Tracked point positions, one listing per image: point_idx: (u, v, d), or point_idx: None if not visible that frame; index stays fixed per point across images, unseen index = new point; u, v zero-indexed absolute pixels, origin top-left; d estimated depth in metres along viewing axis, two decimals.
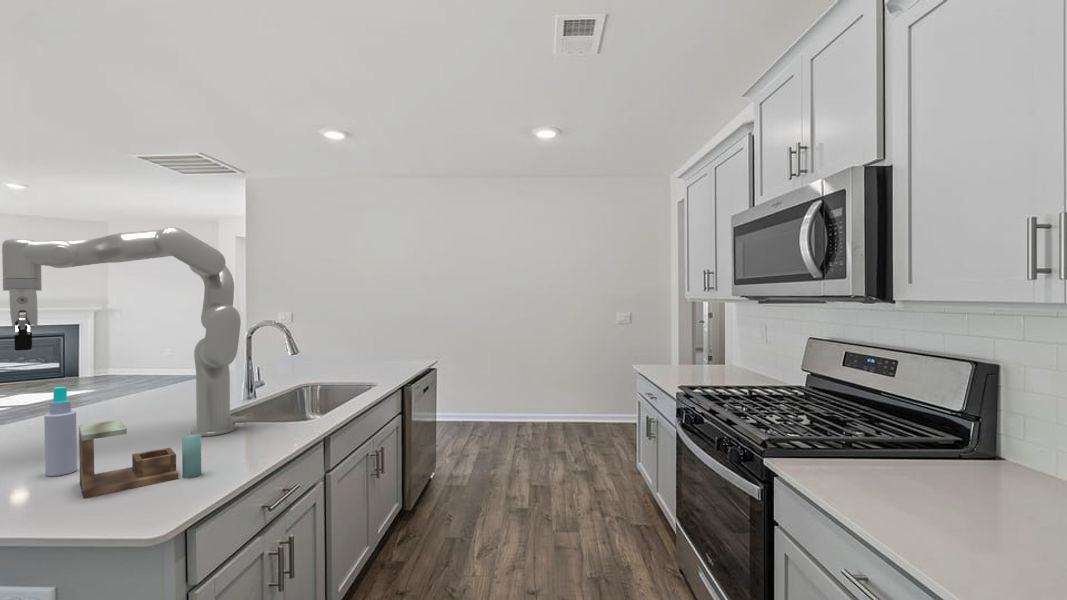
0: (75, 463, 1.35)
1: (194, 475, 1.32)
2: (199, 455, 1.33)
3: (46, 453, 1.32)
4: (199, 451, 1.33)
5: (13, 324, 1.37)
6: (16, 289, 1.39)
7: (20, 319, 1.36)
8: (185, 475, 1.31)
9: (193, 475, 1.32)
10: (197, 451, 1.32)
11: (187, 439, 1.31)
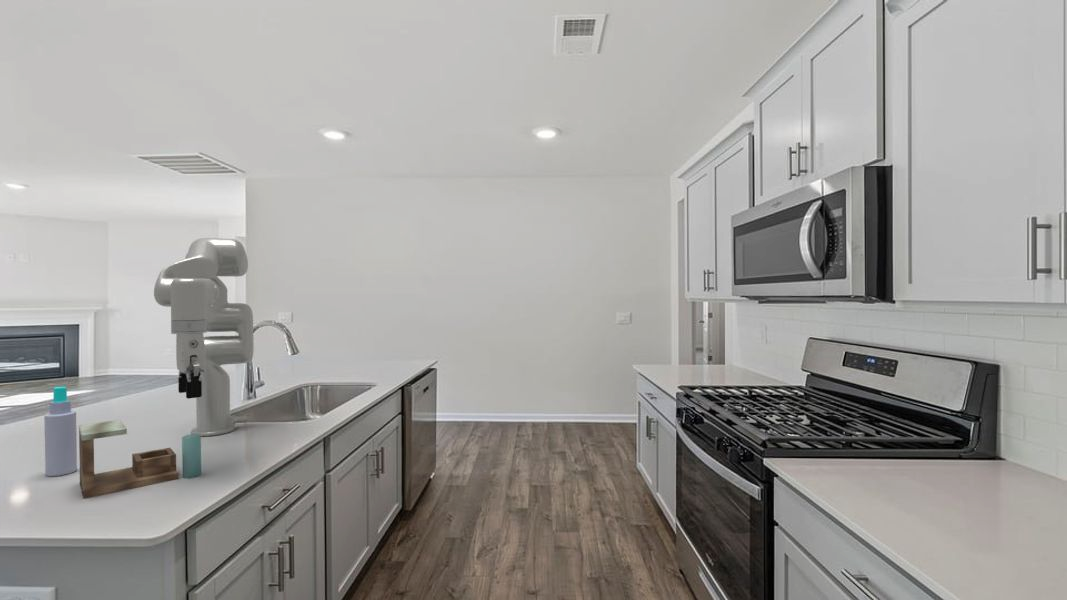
0: (75, 463, 1.35)
1: (194, 475, 1.32)
2: (199, 455, 1.33)
3: (46, 453, 1.32)
4: (199, 451, 1.33)
5: (185, 370, 1.28)
6: (186, 332, 1.29)
7: (195, 365, 1.26)
8: (185, 475, 1.31)
9: (193, 475, 1.32)
10: (197, 451, 1.32)
11: (187, 439, 1.31)
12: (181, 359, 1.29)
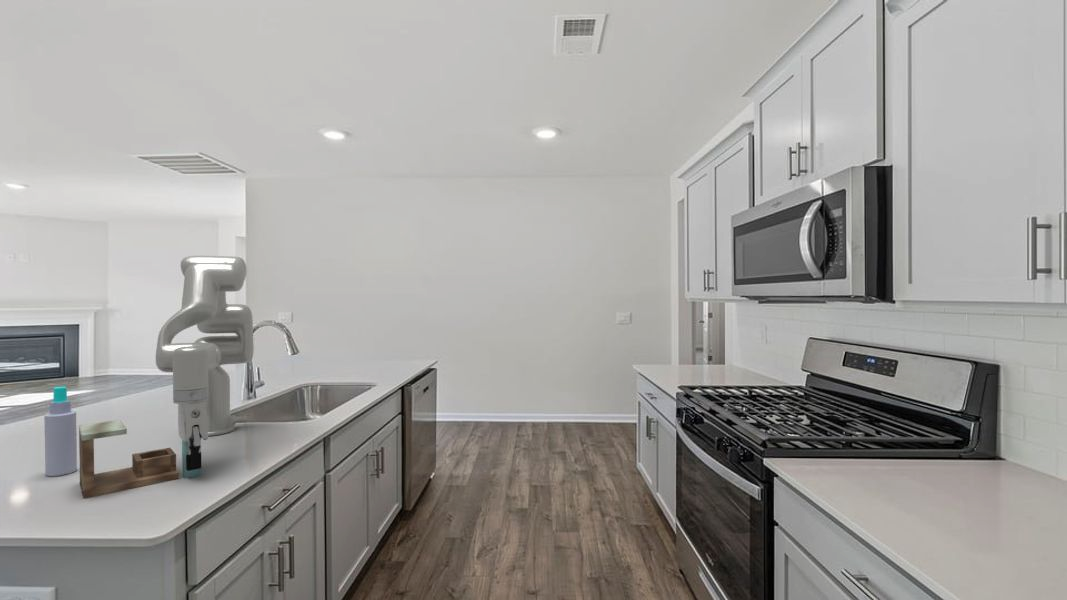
0: (75, 463, 1.35)
1: (194, 475, 1.32)
2: None
3: (46, 453, 1.32)
4: None
5: (187, 440, 1.28)
6: (188, 402, 1.29)
7: (195, 444, 1.28)
8: (185, 475, 1.31)
9: (193, 475, 1.32)
10: None
11: None
12: (183, 429, 1.29)
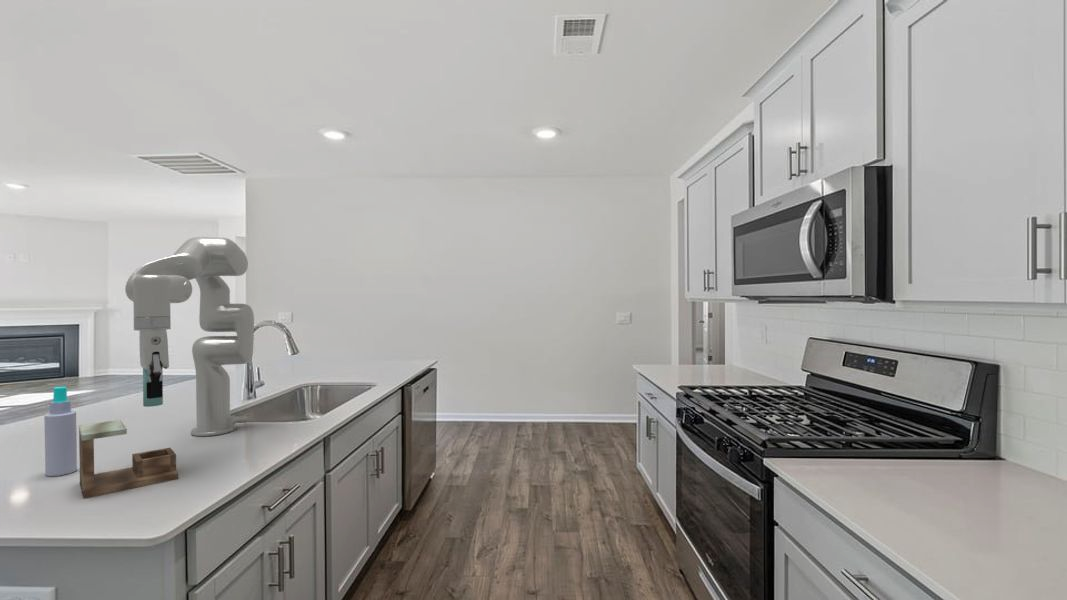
0: (75, 463, 1.35)
1: (154, 404, 1.31)
2: None
3: (46, 453, 1.32)
4: None
5: (147, 367, 1.27)
6: (149, 329, 1.28)
7: (155, 370, 1.27)
8: (146, 403, 1.30)
9: (154, 404, 1.31)
10: None
11: None
12: (143, 356, 1.28)
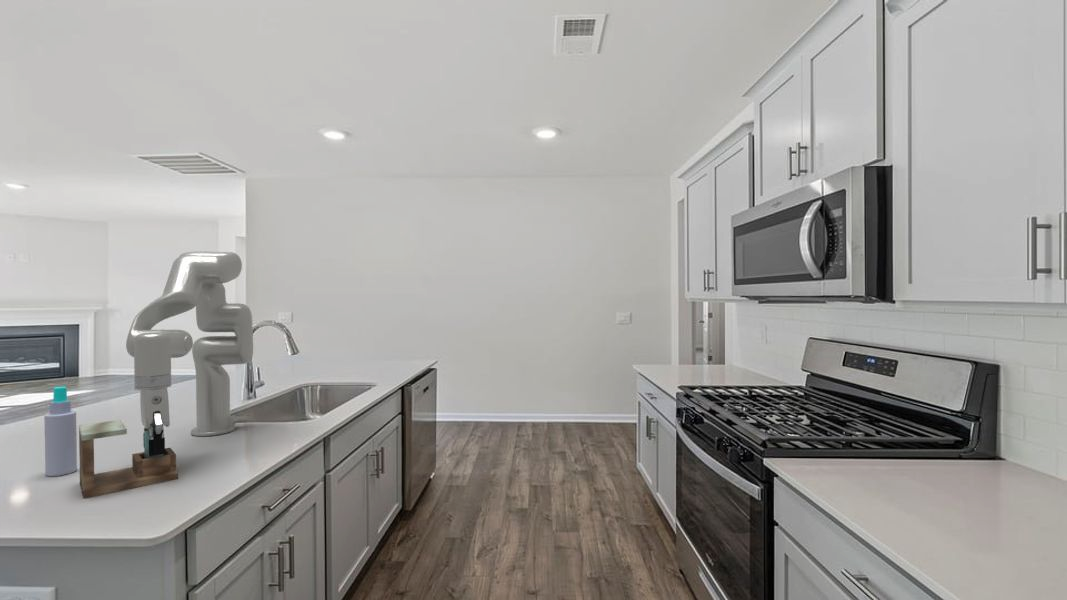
0: (75, 463, 1.35)
1: None
2: None
3: (46, 453, 1.32)
4: None
5: (148, 427, 1.28)
6: (150, 388, 1.29)
7: (157, 425, 1.26)
8: None
9: None
10: None
11: (149, 433, 1.30)
12: (144, 415, 1.28)
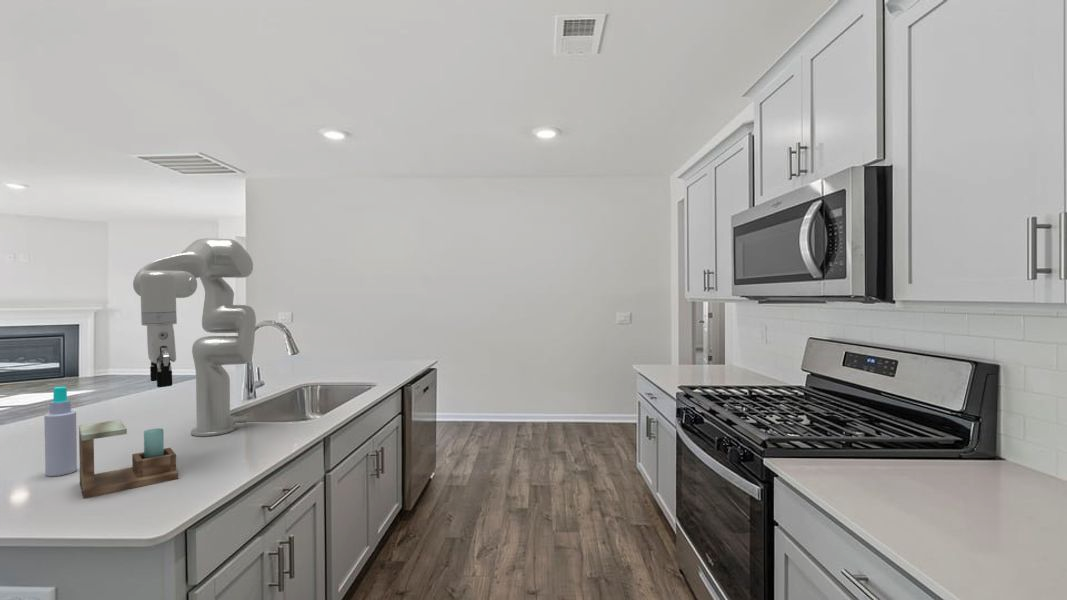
0: (75, 463, 1.35)
1: None
2: (161, 449, 1.32)
3: (46, 453, 1.32)
4: (161, 445, 1.32)
5: (155, 360, 1.33)
6: (156, 324, 1.34)
7: (164, 356, 1.31)
8: None
9: None
10: (159, 446, 1.32)
11: (149, 433, 1.30)
12: (151, 350, 1.34)
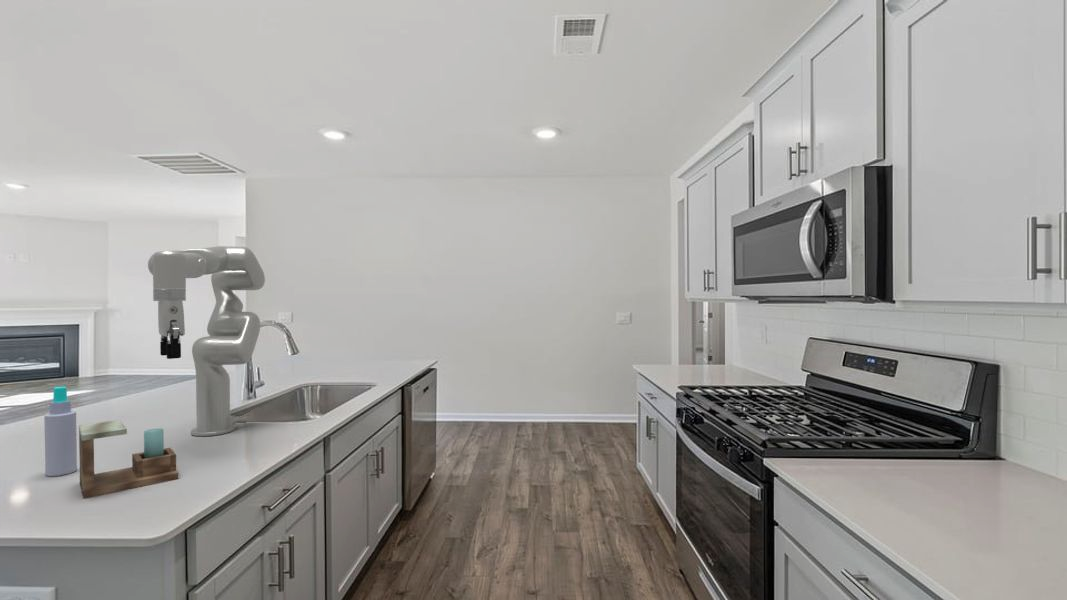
0: (75, 463, 1.35)
1: None
2: (161, 449, 1.32)
3: (46, 453, 1.32)
4: (161, 445, 1.32)
5: (165, 333, 1.42)
6: (167, 299, 1.43)
7: (174, 329, 1.40)
8: None
9: None
10: (159, 446, 1.32)
11: (149, 433, 1.30)
12: (162, 323, 1.43)
